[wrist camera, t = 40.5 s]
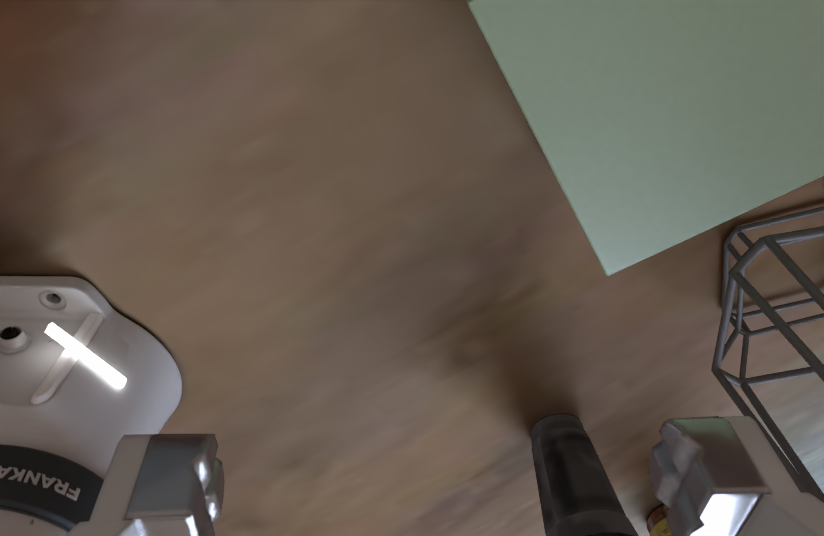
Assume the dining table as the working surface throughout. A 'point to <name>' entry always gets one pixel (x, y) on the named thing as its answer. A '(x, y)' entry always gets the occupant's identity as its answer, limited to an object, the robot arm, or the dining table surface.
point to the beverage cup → (574, 482)
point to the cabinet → (665, 108)
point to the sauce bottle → (659, 522)
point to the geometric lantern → (728, 294)
